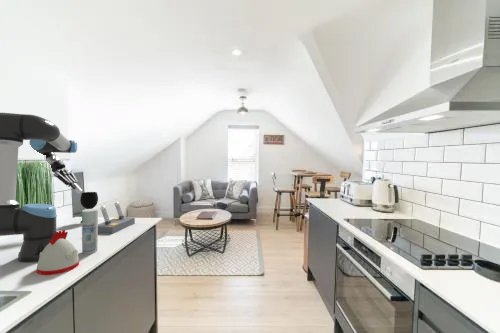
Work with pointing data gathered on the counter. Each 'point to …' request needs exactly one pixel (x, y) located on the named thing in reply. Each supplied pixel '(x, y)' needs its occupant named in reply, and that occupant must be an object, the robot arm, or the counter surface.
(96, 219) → the spray can
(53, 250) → the white chicken hat
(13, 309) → the counter surface
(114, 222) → the switch box
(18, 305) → the counter surface
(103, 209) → the lever near
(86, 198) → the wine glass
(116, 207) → the lever far
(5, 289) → the counter surface
